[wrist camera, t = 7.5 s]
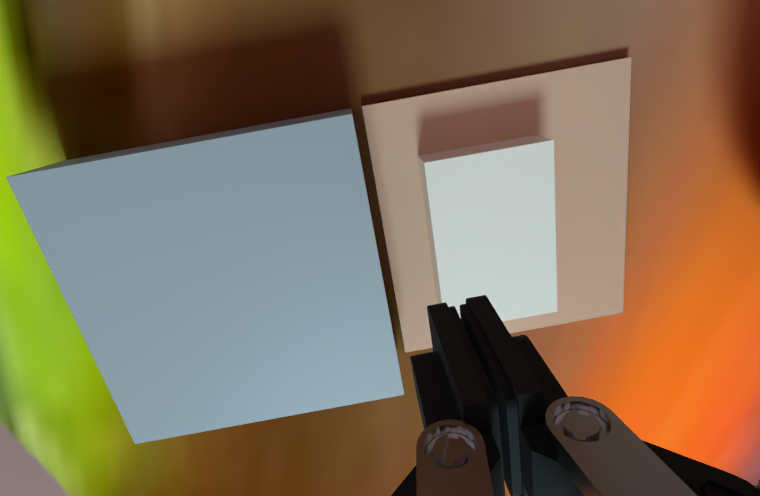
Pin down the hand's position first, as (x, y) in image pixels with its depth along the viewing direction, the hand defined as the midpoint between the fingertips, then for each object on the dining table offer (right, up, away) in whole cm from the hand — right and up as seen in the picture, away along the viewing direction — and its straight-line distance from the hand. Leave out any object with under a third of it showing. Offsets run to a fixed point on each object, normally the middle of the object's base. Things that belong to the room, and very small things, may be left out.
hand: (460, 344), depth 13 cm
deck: (-9, +2, +11) cm, 15 cm away
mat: (+4, +4, +11) cm, 13 cm away
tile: (+3, +3, +9) cm, 10 cm away
